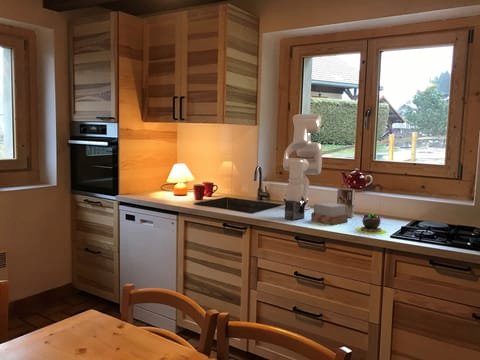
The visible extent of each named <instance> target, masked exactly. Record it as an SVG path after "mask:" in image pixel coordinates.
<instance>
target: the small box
mask: <svg viewBox="0 0 480 360" xmlns="http://www.w3.org/2000/svg"><path fill="white" fill-rule="evenodd" d="M304 201H305V200H304ZM299 210H300V204H299V203H297V202H296V201H284V220H288V221H298V220H305V211H306V210H305V206H304V213H301V214H300V213H299Z"/></svg>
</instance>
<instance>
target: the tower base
mask: <svg viewBox="0 0 480 360" xmlns="http://www.w3.org/2000/svg"><path fill="white" fill-rule="evenodd" d="M310 214H311V218H310V222H313V223H318V224H324V225H328V226H332V227H333V226H337V225H342V224H347V223H348V219H349V218H348V214H344V215H338V216H327V215H322V214H316V213H314V212H311V213H310Z"/></svg>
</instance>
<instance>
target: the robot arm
mask: <svg viewBox="0 0 480 360" xmlns="http://www.w3.org/2000/svg"><path fill="white" fill-rule="evenodd" d="M292 122H293V127H294V132H293V139H292V140H293V141H292V142H291V143H290V144H289V145H288V146H287V147H286V149H285V151H284V154H283V161H282V167H283V169H284V171H286V172H289V178H288V179H287V180H288V181H287V182H288V183H287V187H286V191H285V194H283V195H282V198H283V201H284V202H285V201H296V202H297V203H299V204H300V210H299V213H300V214H301V213H304V214H305V211H307V210H311V206H310V205H309V194H310V180H309V178H308V177H307V176H306V175H315V176H316V175H320V174H321V173H322V164H323V163H322V162H323V147H322V144H321V143H320V142H316V141H315V142H313V141H311V137H312V136H311V135H312V134H318V133H319V132H320V129H321V126H322V117H321V115H320V114H316V113H313V114H312V113H298V114H294V115H293V117H292ZM295 151H296V155H297V156H298V157H290V155H291V154H292V153H294V152H295ZM299 157H301V158H299ZM306 158H307V159H306ZM308 158H312V159H308ZM304 200H305V201H304ZM304 206H305V211H304Z"/></svg>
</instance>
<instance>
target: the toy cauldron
mask: <svg viewBox="0 0 480 360" xmlns="http://www.w3.org/2000/svg"><path fill="white" fill-rule="evenodd" d="M363 213H366V212H365V211H363ZM374 213H375V212H374V210H372V213H371V214H362V215H359V217H360V218H362V225H363V226H361V227H356V228H355V231H357V232H359V233H361V234H362V233H363V234H368V235H370V234H371V235H384V234H387V231H386V230H385V229H382V228H380V225H381V220H382V219H384V217H383V216H379V215H376V214H374Z"/></svg>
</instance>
